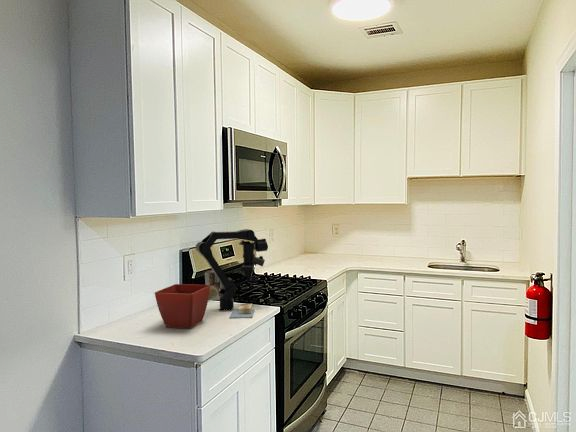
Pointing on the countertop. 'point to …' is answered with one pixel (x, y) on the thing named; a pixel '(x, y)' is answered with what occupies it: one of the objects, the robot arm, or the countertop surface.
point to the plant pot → (182, 304)
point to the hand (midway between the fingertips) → (249, 281)
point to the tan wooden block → (245, 308)
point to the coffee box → (213, 285)
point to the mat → (236, 314)
